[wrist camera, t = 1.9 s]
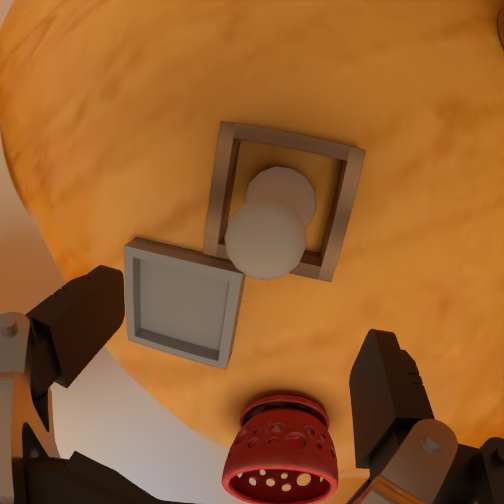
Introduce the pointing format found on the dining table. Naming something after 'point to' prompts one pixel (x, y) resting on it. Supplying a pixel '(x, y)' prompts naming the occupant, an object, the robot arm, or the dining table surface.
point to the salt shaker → (271, 224)
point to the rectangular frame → (352, 157)
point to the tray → (182, 301)
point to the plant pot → (282, 452)
